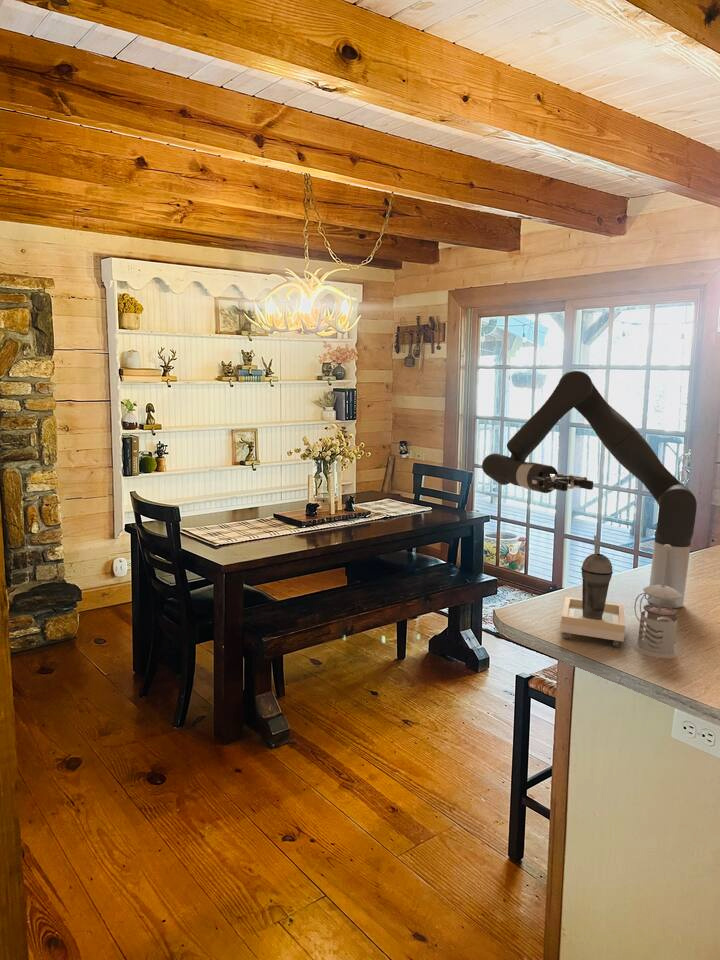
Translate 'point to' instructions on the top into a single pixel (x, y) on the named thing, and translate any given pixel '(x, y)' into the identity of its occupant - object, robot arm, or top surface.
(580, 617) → the caster cart
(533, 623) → the top surface
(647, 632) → the french press
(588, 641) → the top surface
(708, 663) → the top surface
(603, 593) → the beverage cup
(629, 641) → the top surface
